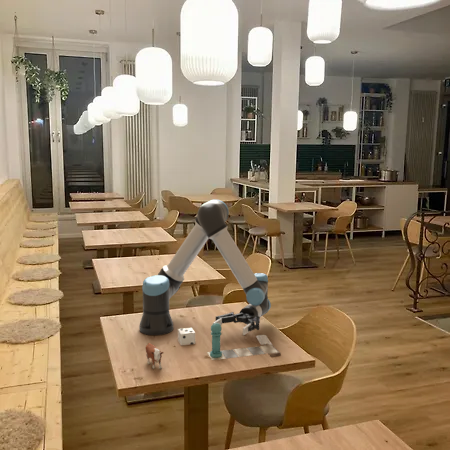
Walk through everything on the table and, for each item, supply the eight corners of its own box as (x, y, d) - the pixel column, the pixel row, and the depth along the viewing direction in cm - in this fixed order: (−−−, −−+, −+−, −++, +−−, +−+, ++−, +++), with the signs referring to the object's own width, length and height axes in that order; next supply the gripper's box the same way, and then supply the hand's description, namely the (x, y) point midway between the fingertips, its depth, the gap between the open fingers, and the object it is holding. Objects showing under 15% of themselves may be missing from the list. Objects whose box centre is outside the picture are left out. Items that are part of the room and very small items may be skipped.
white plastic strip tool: (262, 351, 200) (262, 348, 199) (254, 337, 214) (254, 335, 214) (275, 350, 200) (275, 347, 200) (266, 336, 215) (266, 334, 215)
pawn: (211, 358, 188) (212, 325, 186) (208, 353, 193) (208, 321, 191) (223, 357, 190) (223, 324, 188) (220, 352, 194) (220, 320, 192)
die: (180, 348, 201) (180, 333, 200) (177, 342, 206) (177, 328, 206) (195, 346, 202) (195, 332, 202) (191, 341, 208) (191, 327, 207)
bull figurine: (153, 375, 177) (153, 353, 176) (144, 360, 189) (144, 340, 188) (165, 372, 179) (165, 351, 177) (155, 358, 191) (155, 338, 189)
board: (211, 364, 186) (211, 361, 186) (204, 354, 195) (204, 351, 194) (280, 355, 194) (280, 352, 194) (271, 346, 203) (271, 344, 203)
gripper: (276, 326, 212) (256, 343, 193) (225, 317, 223) (201, 332, 205) (277, 309, 211) (256, 325, 192) (225, 301, 222) (201, 315, 204)
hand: (228, 329), depth 198 cm, fingers open, 13 cm apart
